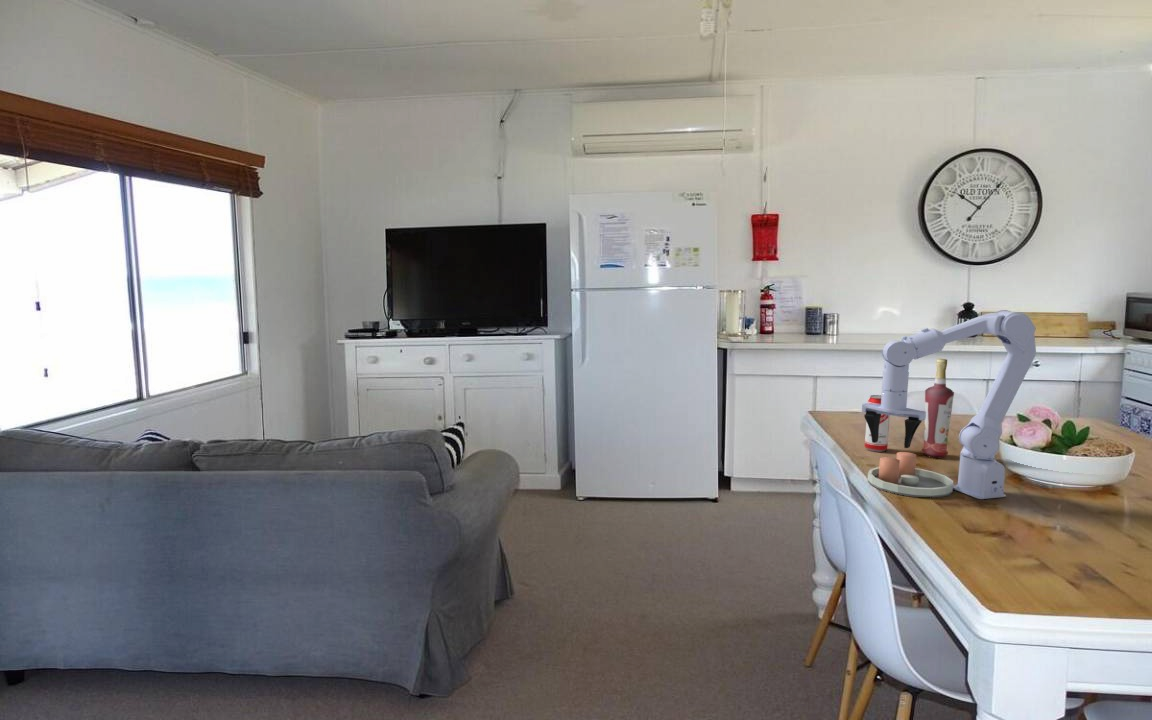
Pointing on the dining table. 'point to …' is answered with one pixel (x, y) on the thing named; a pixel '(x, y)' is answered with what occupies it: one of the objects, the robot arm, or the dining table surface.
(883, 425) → the beer can
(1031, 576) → the dining table surface
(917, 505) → the dining table surface
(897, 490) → the groove tray
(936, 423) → the liquor
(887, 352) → the robot arm
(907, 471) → the salmon rounded capsule
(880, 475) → the reddish brown rounded cylinder
